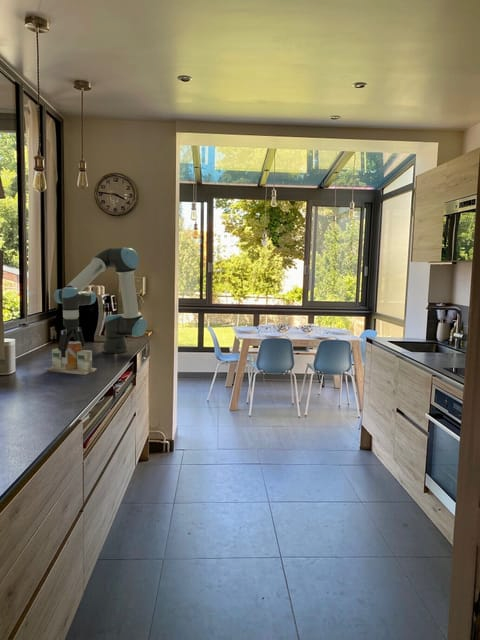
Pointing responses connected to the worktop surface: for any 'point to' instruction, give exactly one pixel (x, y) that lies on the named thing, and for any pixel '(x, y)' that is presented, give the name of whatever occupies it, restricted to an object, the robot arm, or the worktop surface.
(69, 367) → the small box
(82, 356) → the cream u-shaped bracket
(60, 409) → the worktop surface
